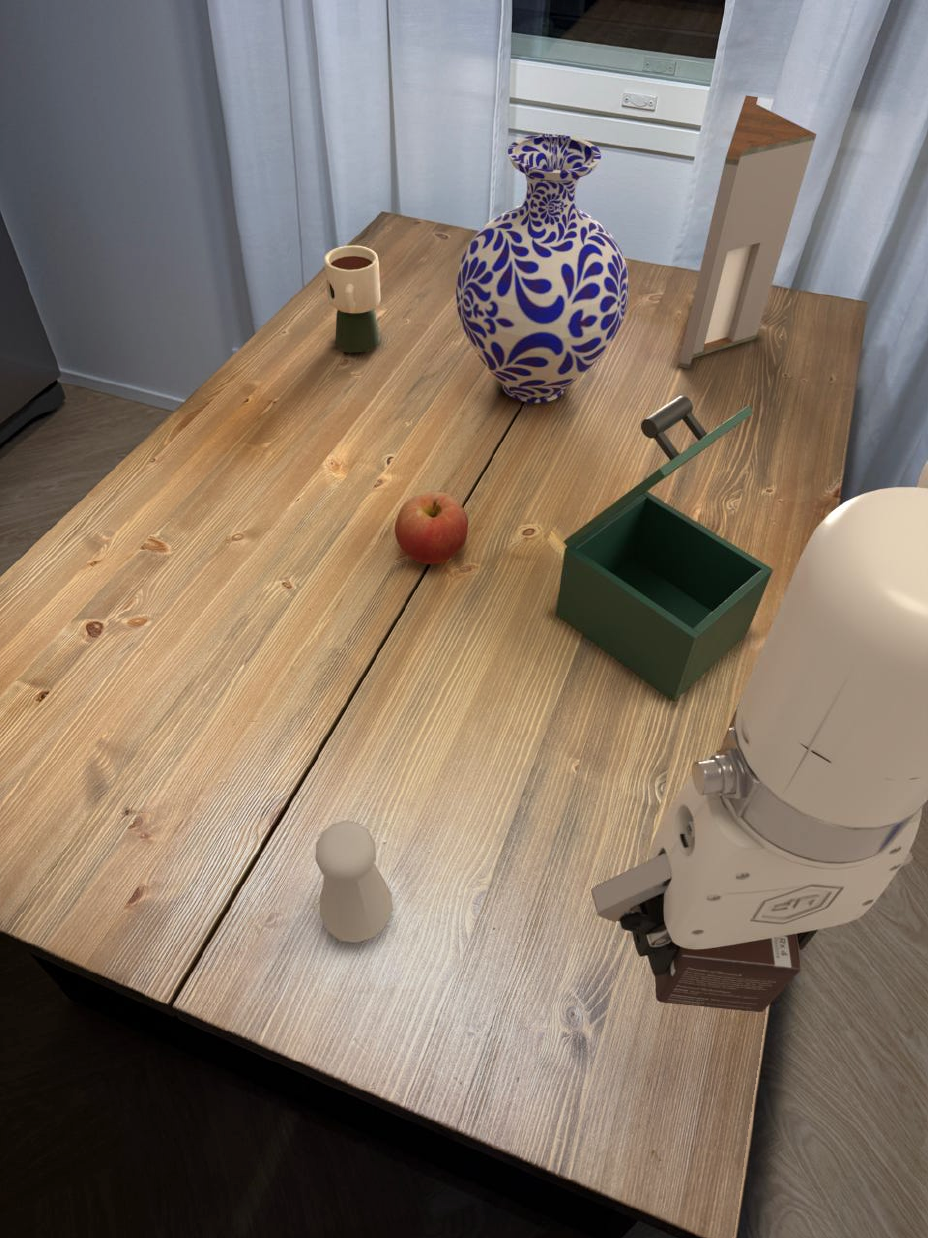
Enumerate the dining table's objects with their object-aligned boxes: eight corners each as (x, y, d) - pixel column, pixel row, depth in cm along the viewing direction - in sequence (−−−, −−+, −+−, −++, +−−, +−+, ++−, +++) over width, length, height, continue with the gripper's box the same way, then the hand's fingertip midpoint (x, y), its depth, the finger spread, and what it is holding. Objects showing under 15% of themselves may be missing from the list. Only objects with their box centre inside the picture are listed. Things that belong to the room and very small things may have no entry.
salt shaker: (342, 873, 75) (327, 795, 65) (404, 897, 74) (398, 821, 64) (309, 937, 71) (288, 864, 61) (374, 964, 70) (363, 894, 60)
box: (651, 900, 54) (674, 844, 48) (752, 911, 53) (788, 856, 48) (654, 1005, 50) (680, 956, 44) (764, 1017, 49) (804, 970, 44)
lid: (754, 412, 78) (720, 366, 78) (665, 476, 72) (628, 426, 72) (648, 489, 92) (620, 450, 92) (567, 548, 86) (537, 506, 86)
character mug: (337, 323, 130) (328, 237, 121) (386, 325, 130) (381, 238, 121) (328, 366, 123) (319, 277, 114) (380, 367, 123) (374, 279, 114)
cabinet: (699, 293, 138) (745, 95, 117) (762, 304, 136) (821, 105, 115) (678, 366, 125) (725, 157, 104) (747, 379, 123) (810, 169, 102)
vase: (606, 441, 114) (647, 205, 91) (440, 420, 116) (440, 184, 93) (617, 349, 127) (655, 124, 105) (469, 332, 130) (475, 108, 107)
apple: (482, 545, 101) (484, 491, 95) (442, 587, 96) (442, 534, 90) (424, 517, 104) (423, 464, 98) (383, 558, 99) (379, 504, 93)
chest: (747, 634, 93) (773, 569, 85) (673, 702, 87) (694, 638, 80) (630, 556, 100) (645, 490, 93) (555, 614, 94) (564, 548, 87)
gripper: (638, 889, 32) (583, 1035, 46) (1071, 817, 34) (896, 977, 48) (584, 719, 37) (548, 897, 51) (967, 665, 39) (834, 849, 53)
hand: (718, 935), depth 49 cm, fingers closed on box, 7 cm apart
